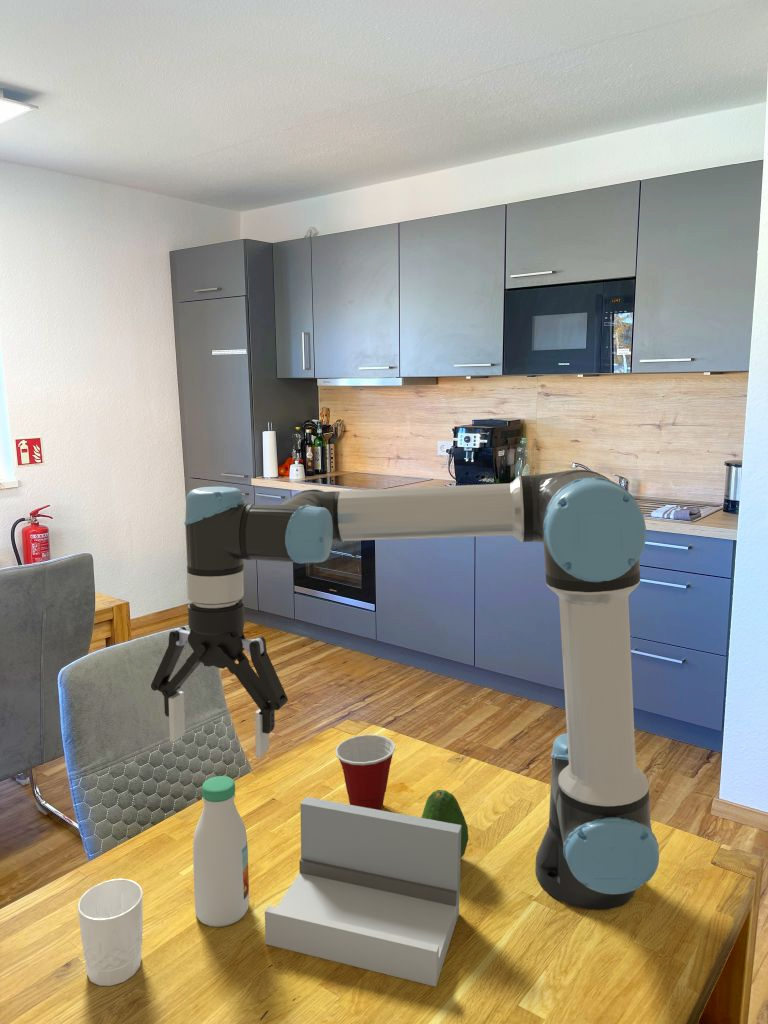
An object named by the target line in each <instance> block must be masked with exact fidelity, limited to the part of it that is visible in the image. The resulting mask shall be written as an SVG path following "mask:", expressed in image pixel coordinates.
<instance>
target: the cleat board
mask: <svg viewBox="0 0 768 1024" xmlns="http://www.w3.org/2000/svg"><path fill="white" fill-rule="evenodd" d="M299 807H300V859H299V864H298V865H299V873H298V874H297V876H296V878H295V879H294V880H293V882H292V884H291V885H290V887H289V888H288V890H287V891H286V892H285V894H284V895H283V897H282V899H281V900H280V901H279V903H278V904H277V906H273V905H268V906H267V907H266V908H265V910H264V934H265V935H264V937H265V939H264V943H265V944H264V945H269V946H272V947H275V948H279V949H284V950H288V951H291V952H295V953H299V954H304V955H307V956H312V957H315V958H319V959H324V960H327V961H331V962H336V963H339V964H344V965H347V966H348V965H349V966H351V967H356V968H360V969H362V970H363V969H364V970H368V971H372V972H376V973H379V974H384V975H388V976H391V977H396V978H400V979H402V980H407V981H411V982H416V983H420V984H423V985H427V986H431V987H435V988H436V987H437V984H438V982H439V978H440V975H441V971H442V969H443V966H444V963H445V959H446V956H447V953H448V949H449V946H450V943H451V939H452V937H453V934H454V931H455V926H456V924H457V921H458V917H459V916H460V895H461V894H460V890H461V889H460V888H461V887H460V886H461V883H460V882H461V859H462V858H461V825H458V824H452V823H447V822H441V821H436V820H431V819H425V818H422V817H419V816H418V817H417V816H415V815H408V814H402V813H395V812H392V811H386V810H382V809H381V810H376V809H371V808H365V807H360V806H354V805H350V803H344V802H338V801H337V802H336V801H331V800H325V799H320V798H316V797H309V796H305V797H304V798H303V800H302V801H300V806H299ZM460 858H461V859H460Z"/></svg>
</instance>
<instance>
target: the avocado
mask: <svg viewBox="0 0 768 1024" xmlns="http://www.w3.org/2000/svg"><path fill="white" fill-rule="evenodd" d="M421 818H425V819H431V820H436V821H441V822H447V823H452V824H458V825H461V858H460V860H461V859H462V858H463V857H464V855H465V854H466V849H467V846H468V841H469V828H468V823H467V821H466V818H465V816H464V813H463V811H462V809H461V806H460V804H459V803H458V800H457V798H456V797H455V796H454V794H452V793H451V792H450V791H447V790H445V789H437V790H435V791H432V793H431V794H430V795H429V796H428V797H427V799H426V802H425V805H424V808H423V811H422V815H421Z"/></svg>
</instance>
